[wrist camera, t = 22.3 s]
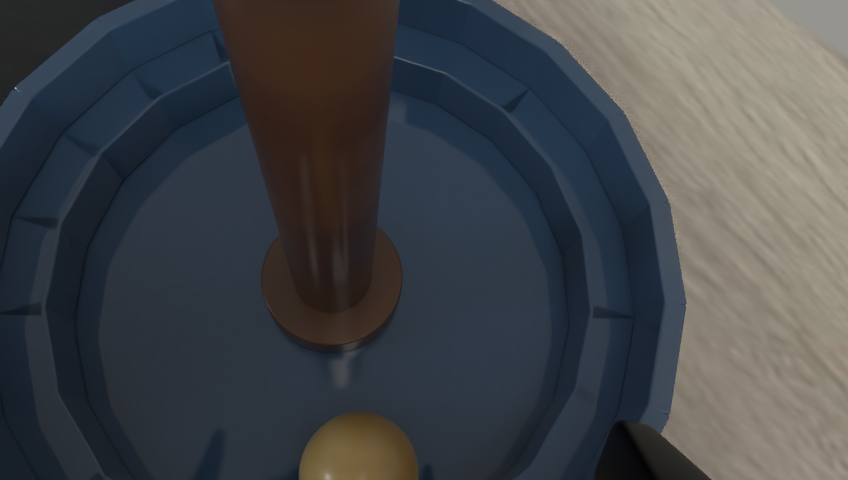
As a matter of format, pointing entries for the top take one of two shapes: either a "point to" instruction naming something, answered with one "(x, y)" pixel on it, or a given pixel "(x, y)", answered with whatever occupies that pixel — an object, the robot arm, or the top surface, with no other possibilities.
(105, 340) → the bowl
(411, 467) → the bead
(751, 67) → the top surface
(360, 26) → the stirring stick
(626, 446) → the robot arm
